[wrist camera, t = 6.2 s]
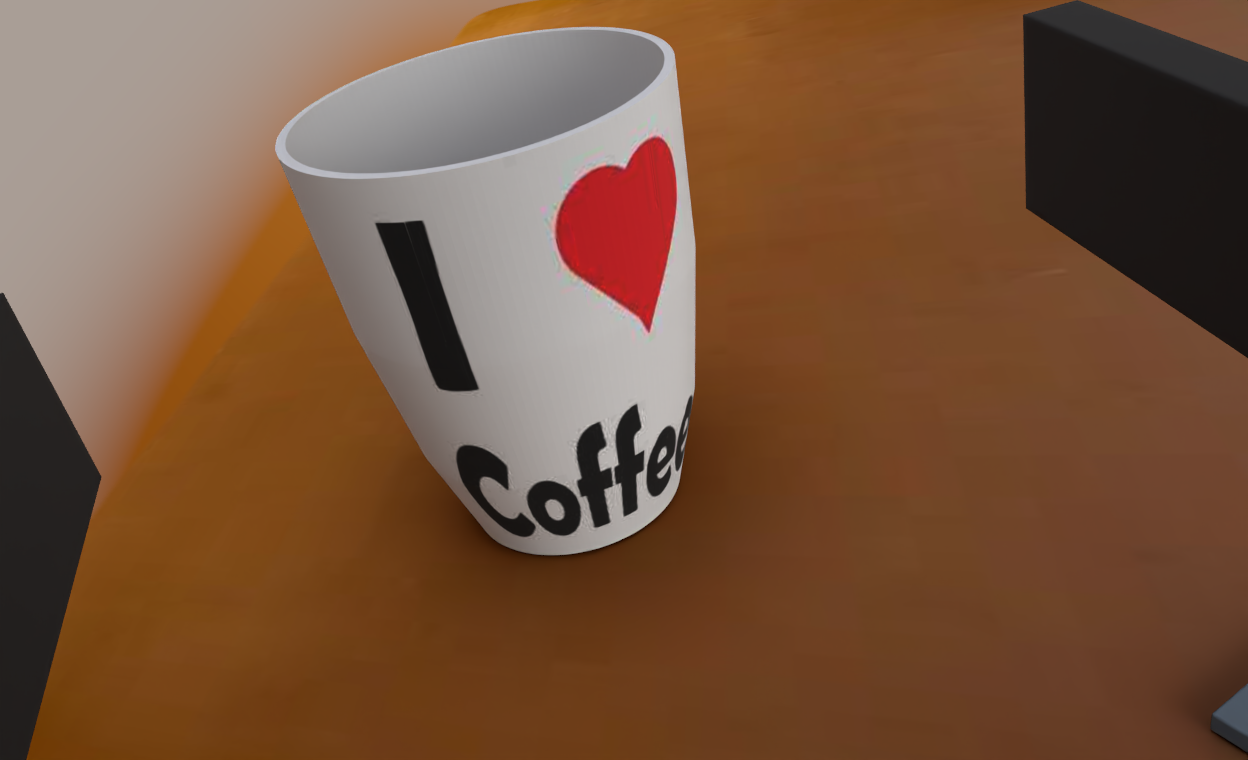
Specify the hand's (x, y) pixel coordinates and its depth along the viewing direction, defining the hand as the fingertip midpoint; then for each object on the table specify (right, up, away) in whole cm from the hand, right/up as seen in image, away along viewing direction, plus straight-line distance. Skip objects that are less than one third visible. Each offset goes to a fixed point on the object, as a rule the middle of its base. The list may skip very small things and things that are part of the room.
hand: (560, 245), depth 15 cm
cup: (0, -4, +14) cm, 15 cm away
